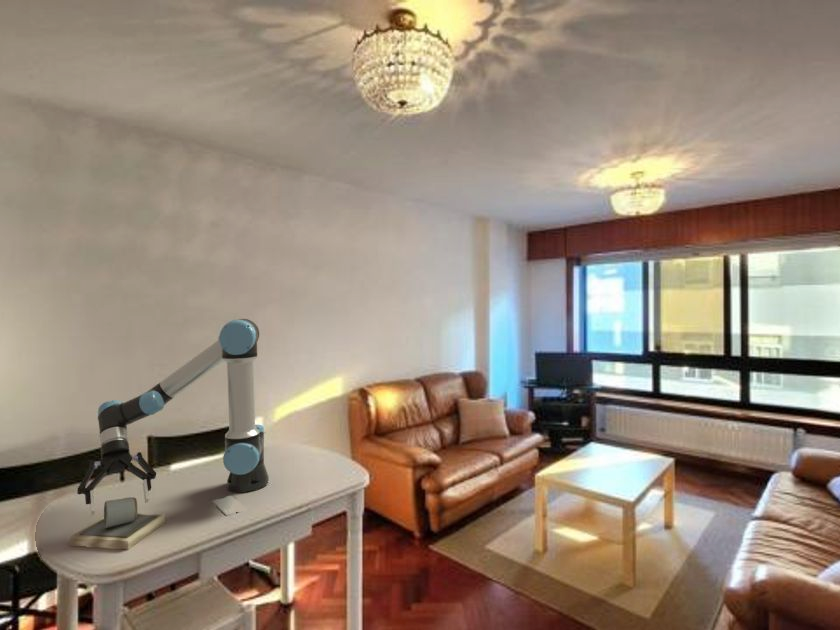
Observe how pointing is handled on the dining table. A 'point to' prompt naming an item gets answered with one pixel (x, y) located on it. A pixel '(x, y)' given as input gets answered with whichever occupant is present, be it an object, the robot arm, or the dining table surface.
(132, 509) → the ceramic mug
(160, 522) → the wooden picture frame
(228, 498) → the smartphone
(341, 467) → the dining table surface
